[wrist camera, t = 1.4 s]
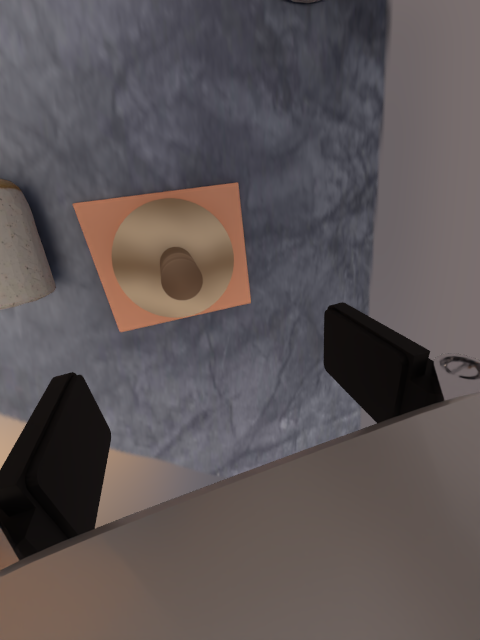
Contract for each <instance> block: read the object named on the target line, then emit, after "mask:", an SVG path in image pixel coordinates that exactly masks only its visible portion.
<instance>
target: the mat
mask: <svg viewBox="0 0 480 640" xmlns="http://www.w3.org/2000/svg"><path fill="white" fill-rule="evenodd" d="M165 198H175V199H182V200H187V201H190V202H193V203H196V204H198V205H200V206H201V207H203V208H205V209H206V210H208V211H209V212H211V213H212V214H213V215H214V216H215V217H216V218H217V219H218V220H219V222H220V223H221V224H222V225H223V227H224V228H225V230H226V232H227V234H228V236H229V238H230V241H231V244H232V248H233V253H234V267H233V273H232V277H231V280H230V282H229V285H228V287H227V289H226V290H225V292H224V293H223V295H222V296H221V297H220V298H219V299H218V300H217V301H216V302H215V303H214V304H213V305H212V306H210V307H209V308H207V309H206V310H204V311H202V312H200V313H197V314H195V315H199V314H203V313H208V312H212V311H217V310H221V309H226V308H230V307H234V306H239V305H243V304H248V303H251V299H250V289H249V280H248V271H247V261H246V252H245V243H244V233H243V224H242V215H241V205H240V196H239V187H238V182H237V183H229V184H222V185H214V186H206V187H198V188H190V189H183V190H175V191H167V192H159V193H151V194H143V195H136V196H128V197H120V198H112V199H104V200H97V201H89V202H81V203H73V206H74V209H75V212H76V215H77V217H78V220H79V223H80V225H81V228H82V231H83V234H84V236H85V239H86V242H87V244H88V247H89V250H90V252H91V255H92V258H93V261H94V263H95V266H96V269H97V271H98V274H99V277H100V280H101V282H102V285H103V288H104V290H105V293H106V296H107V298H108V301H109V304H110V307H111V309H112V312H113V315H114V317H115V320H116V323H117V326H118V328H119V331H120V332H124V331H128V330H133V329H137V328H141V327H146V326H150V325H155V324H159V323H164V322H168V321H172V320H177V319H181V318H186V317H179V318H172V317H164V316H159V315H156V314H153V313H150V312H148V311H146V310H144V309H142V308H141V307H139V306H138V305H137V304H135V303H134V302H133V301H132V300H131V299H130V298H129V297H128V296H127V295H126V294H125V293H124V291H123V290H122V288H121V287H120V285H119V283H118V281H117V279H116V277H115V274H114V270H113V266H112V246H113V241H114V238H115V235H116V232H117V230H118V228H119V226H120V225H121V223H122V222H123V221H124V219H125V218H126V217H127V216H128V215H129V214H130V213H131V212H132V211H134V210H135V209H136V208H138V207H140V206H142V205H143V204H145V203H148V202H151V201H153V200H158V199H165ZM195 315H191V316H195ZM187 317H190V316H187Z"/></svg>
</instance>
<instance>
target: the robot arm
mask: <svg viewBox="0 0 480 640" xmlns="http://www.w3.org/2000/svg"><path fill="white" fill-rule="evenodd" d="M291 1H294V2H302V3H311V2H316V1H320V0H291ZM429 353H430V351H429V350H427V349H425V348H424V347H422V346H420V345H418V344H417V343H415V342H413V341H411V340H410V339H408V338H406V337H404V336H403V335H401V334H399V333H397V332H395V331H394V330H392V329H390V328H388V327H387V326H385V325H383V324H381V323H379V322H378V321H376V320H374V319H372V318H370V317H369V316H367V315H365V314H363V313H362V312H360V311H358V310H356V309H355V308H353V307H351V306H349V305H347V304H346V303H343V302H342V303H338V304H334V305H330V306H329V307H328V309H327V310H326V311H325V314H324V367H325V369H326V371H327V372H328V373H329V374H330V375H331V376H332V377H333V378H334V379H335V380H336V381H337V383H338V384H339V385H340V386H341V387H342V388H343V389H344V390H345V391H346V392H347V393H348V394H349V395H350V396H351V397H352V398H353V399H354V400H355V401H356V402H357V403H358V404H359V405H360V406H361V407H362V408H363V409H364V410H365V411H366V412H367V413H368V414H369V415H370V416H371V417H372V418H373V419H374V420H375V421H376V422H377V424H374V425H372V426H369V427H366V428H363V429H361V430H358V431H355V432H352V433H350V434H347V435H344V436H341V437H339V438H336V439H333V440H330V441H327V442H325V443H322V444H319V445H317V446H314V447H311V448H308V449H306V450H303V451H300V452H298V453H295V454H292V455H289V456H287V457H284V458H281V459H279V460H276V461H273V462H270V463H268V464H265V465H262V466H260V467H257V468H254V469H251V470H249V471H246V472H243V473H241V474H238V475H235V476H233V477H230V478H227V479H224V480H222V481H219V482H217V483H214V484H211V485H208V486H206V487H203V488H200V489H198V490H195V491H192V492H190V493H187V494H184V495H182V496H179V497H177V498H174V499H171V500H169V501H166V502H163V503H160V504H158V505H155V506H153V507H150V508H147V509H145V510H142V511H139V512H137V513H134V514H131V515H129V516H126V517H123V518H121V519H119V520H116V521H113V522H111V523H108V524H106V525H103V526H101V527H98V528H96V529H94V528H95V523H96V517H97V512H98V506H99V501H100V496H101V490H102V485H103V480H104V474H105V469H106V464H107V458H108V453H109V448H110V442H111V432H110V429H109V426H108V425H107V423H106V421H105V419H104V417H103V415H102V413H101V411H100V409H99V407H98V405H97V403H96V401H95V399H94V397H93V395H92V393H91V391H90V389H89V387H88V385H87V383H86V382H85V380H84V378H83V376H82V375H76V374H75V373H73V372H72V373H68V374H64V375H60V376H56V377H53V379H52V380H51V382H50V384H49V385H48V387H47V389H46V391H45V392H44V394H43V396H42V398H41V399H40V401H39V403H38V405H37V406H36V408H35V410H34V412H33V413H32V415H31V417H30V419H29V420H28V422H27V424H26V426H25V428H24V429H23V431H22V433H21V434H20V437H19V438H18V440H17V442H16V443H15V445H14V447H13V448H12V450H11V452H10V454H9V456H8V457H7V459H6V461H5V463H4V464H3V466H2V468H1V470H0V640H480V360H478V359H476V358H473V357H470V356H467V355H461V354H451V353H448V354H441V355H439V356H437V357H436V358H435V359H434V361H432V360H430V359H429V358H428V357H429Z"/></svg>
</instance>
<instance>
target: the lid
mask: <svg viewBox="0 0 480 640" xmlns="http://www.w3.org/2000/svg"><path fill="white" fill-rule="evenodd" d="M112 266H113V270H114V274H115V277H116V279H117V281H118V283H119V285H120V287H121V288H122V290H123V291H124V293H125V294H126V295H127V296H128V297H129V298H130V299H131V300H132V301H133V302H134V303H135V304H137V305H138V306H139V307H141V308H142V309H144V310H146V311H148V312H150V313H153V314H156V315H159V316H164V317H172V318H179V317H187V316H191V315H195V314H197V313H200V312H202V311H204V310H206V309H207V308H209V307H210V306H212V305H213V304H214V303H215V302H216V301H217V300H218V299H219V298H220V297H221V296H222V295H223V293H224V292H225V290H226V289H227V287H228V285H229V282H230V280H231V277H232V273H233V267H234V253H233V248H232V244H231V241H230V238H229V236H228V234H227V232H226V230H225V228H224V227H223V225H222V224H221V223H220V222H219V220H218V219H217V218H216V217H215V216H214V215H213V214H212V213H211V212H209V211H208V210H206V209H205V208H203V207H201V206H200V205H198V204H196V203H193V202H190V201H187V200H182V199H175V198H165V199H158V200H153V201H151V202H148V203H145V204H143V205H142V206H140V207H138V208H136V209H135V210H134V211H132V212H131V213H130V214H129V215H128V216H127V217H126V218H125V219H124V221H123V222H122V223H121V225H120V226H119V228H118V230H117V232H116V235H115V238H114V241H113V246H112Z"/></svg>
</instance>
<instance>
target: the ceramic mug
mask: <svg viewBox="0 0 480 640" xmlns="http://www.w3.org/2000/svg"><path fill="white" fill-rule="evenodd" d="M55 288H56V286H55V282H54V279H53V276H52V273H51V270H50V267H49V264H48V261H47V258H46V255H45V252H44V249H43V246H42V243H41V240H40V237H39V234H38V232H37V228H36V225H35V222H34V218H33V215H32V212H31V209H30V207H29V204H28V202H27V201H26V199H25V197H24V195H23V193H22V191H21V190H20V188H19V187H18V186H16V185H15V184H13V183H12V182H10V181H8V180H4V179H0V310H1V309H7V308H11V307H15V306H19V305H22V304H24V303H29V302H33V301H36V300H38V299H40V298H43V297H45V296H47V295H49V294H50V293H52V292H53V291H54V290H55Z"/></svg>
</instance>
